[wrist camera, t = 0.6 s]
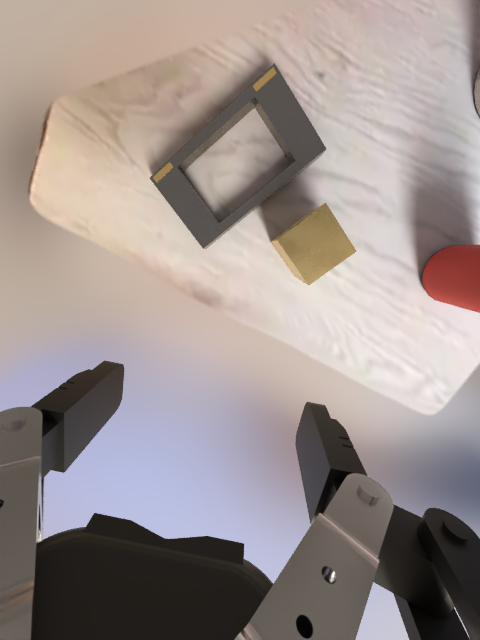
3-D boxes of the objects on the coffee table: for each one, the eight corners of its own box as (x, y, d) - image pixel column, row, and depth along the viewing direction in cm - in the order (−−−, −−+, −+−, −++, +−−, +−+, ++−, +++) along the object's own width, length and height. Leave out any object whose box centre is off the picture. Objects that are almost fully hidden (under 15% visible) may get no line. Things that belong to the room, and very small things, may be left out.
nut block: (306, 214, 30) (325, 202, 23) (330, 251, 31) (356, 251, 24) (270, 241, 31) (276, 239, 24) (294, 276, 32) (308, 285, 24)
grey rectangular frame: (272, 76, 27) (274, 62, 25) (321, 155, 29) (326, 148, 27) (156, 182, 30) (149, 177, 28) (206, 248, 32) (203, 248, 30)
